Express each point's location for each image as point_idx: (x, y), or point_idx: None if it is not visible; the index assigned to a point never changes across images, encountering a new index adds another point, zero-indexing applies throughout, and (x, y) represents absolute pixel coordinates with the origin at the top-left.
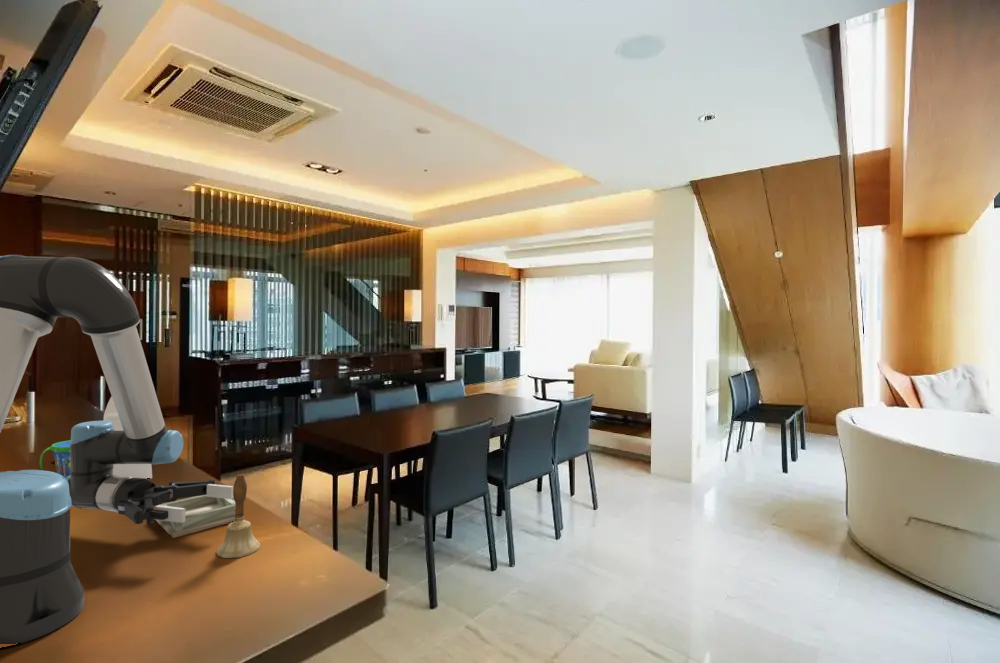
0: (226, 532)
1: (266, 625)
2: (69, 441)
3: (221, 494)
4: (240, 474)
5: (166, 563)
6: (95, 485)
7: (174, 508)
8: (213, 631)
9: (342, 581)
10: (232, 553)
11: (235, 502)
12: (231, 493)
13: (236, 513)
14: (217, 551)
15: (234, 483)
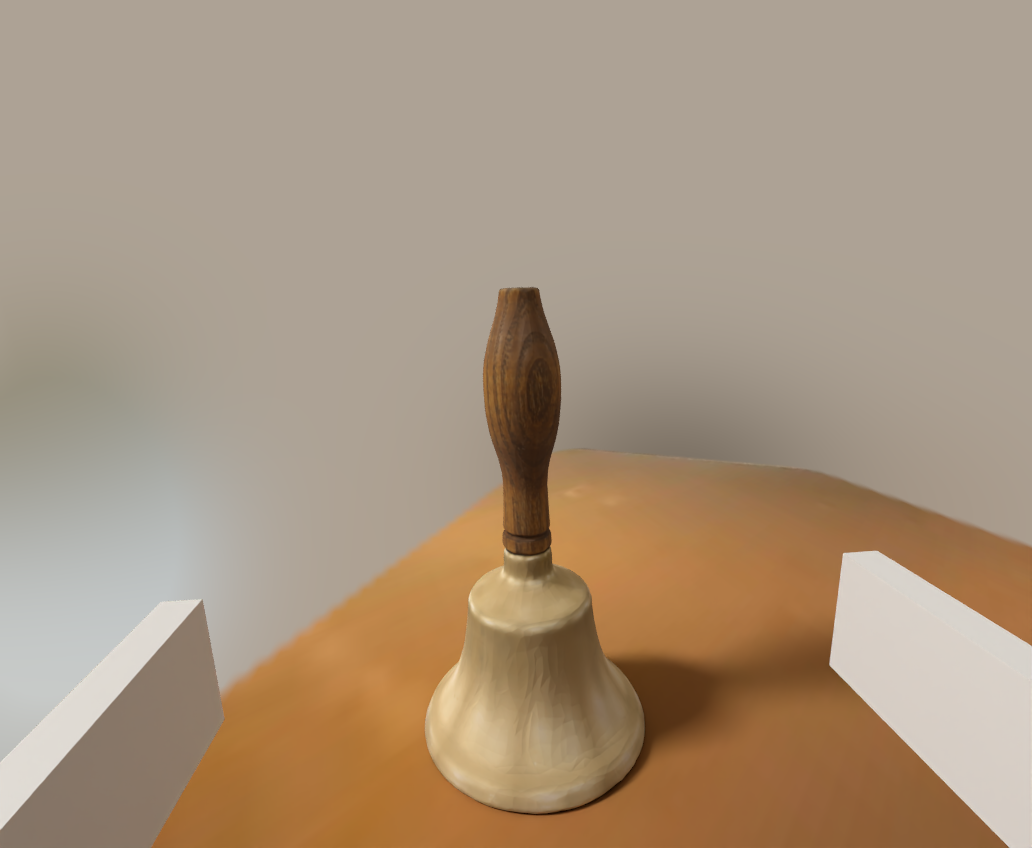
0: (581, 647)
1: (760, 483)
2: None
3: (138, 805)
4: (513, 288)
5: None
6: None
7: (955, 599)
8: (855, 514)
9: (571, 473)
10: (613, 663)
11: (547, 462)
12: (211, 664)
13: (549, 521)
14: (629, 749)
15: (547, 341)
